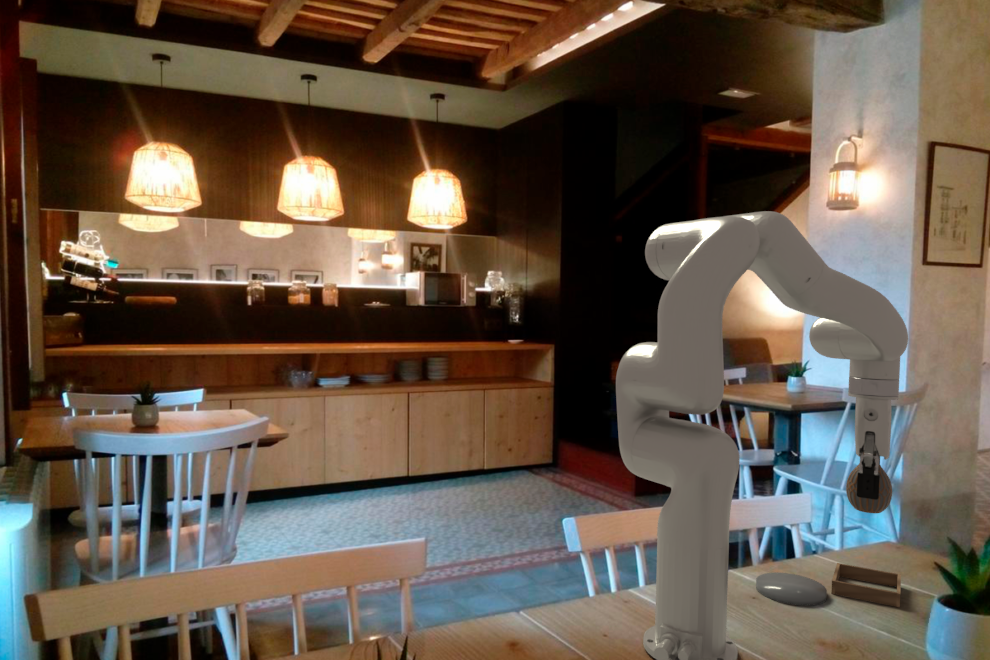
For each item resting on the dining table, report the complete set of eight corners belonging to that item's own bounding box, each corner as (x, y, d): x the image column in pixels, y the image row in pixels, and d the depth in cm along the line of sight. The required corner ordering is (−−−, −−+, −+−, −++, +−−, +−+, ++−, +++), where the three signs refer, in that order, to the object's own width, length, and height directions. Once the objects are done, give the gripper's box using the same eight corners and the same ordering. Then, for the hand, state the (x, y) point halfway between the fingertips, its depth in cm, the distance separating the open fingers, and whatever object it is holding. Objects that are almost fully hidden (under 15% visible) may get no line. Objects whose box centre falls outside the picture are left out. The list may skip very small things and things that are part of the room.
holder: (899, 607, 113) (900, 594, 113) (831, 593, 118) (831, 580, 118) (900, 586, 122) (900, 574, 122) (836, 574, 127) (837, 562, 127)
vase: (897, 517, 115) (900, 464, 115) (852, 513, 117) (854, 461, 117) (883, 506, 122) (885, 456, 122) (840, 503, 124) (842, 453, 123)
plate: (822, 611, 111) (823, 603, 111) (750, 595, 117) (750, 588, 117) (829, 588, 121) (829, 581, 121) (762, 574, 126) (762, 568, 126)
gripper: (898, 394, 110) (893, 508, 110) (899, 386, 125) (894, 486, 125) (844, 390, 113) (839, 500, 114) (852, 383, 128) (847, 480, 129)
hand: (868, 492), depth 119 cm, fingers closed on vase, 6 cm apart
